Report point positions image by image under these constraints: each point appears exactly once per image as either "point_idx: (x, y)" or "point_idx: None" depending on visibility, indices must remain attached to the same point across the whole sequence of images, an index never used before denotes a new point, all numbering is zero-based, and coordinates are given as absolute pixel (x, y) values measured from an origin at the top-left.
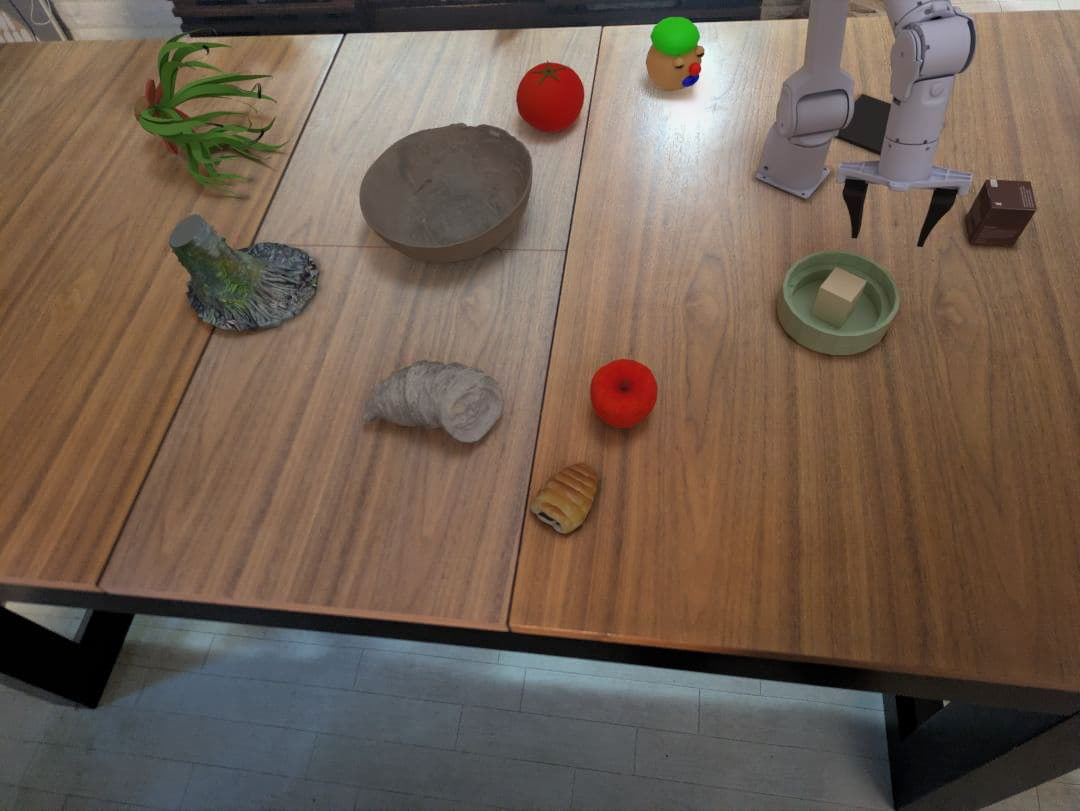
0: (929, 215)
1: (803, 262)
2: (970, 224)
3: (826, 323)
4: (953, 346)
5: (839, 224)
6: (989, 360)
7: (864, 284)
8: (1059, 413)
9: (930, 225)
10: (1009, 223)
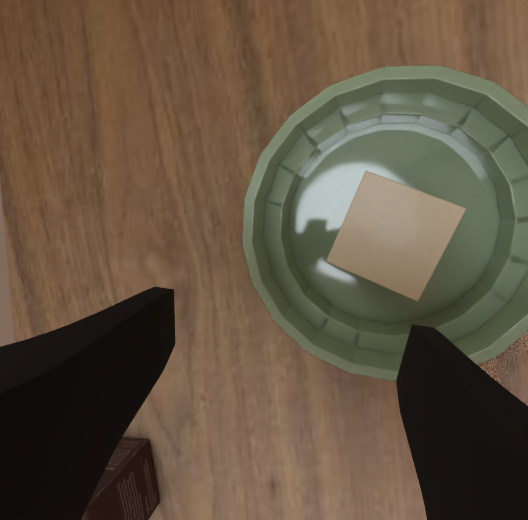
0: (39, 366)
1: (506, 328)
2: (147, 481)
3: None
4: (153, 197)
5: (385, 486)
6: (99, 181)
7: (332, 246)
8: (5, 100)
9: (74, 332)
10: None
